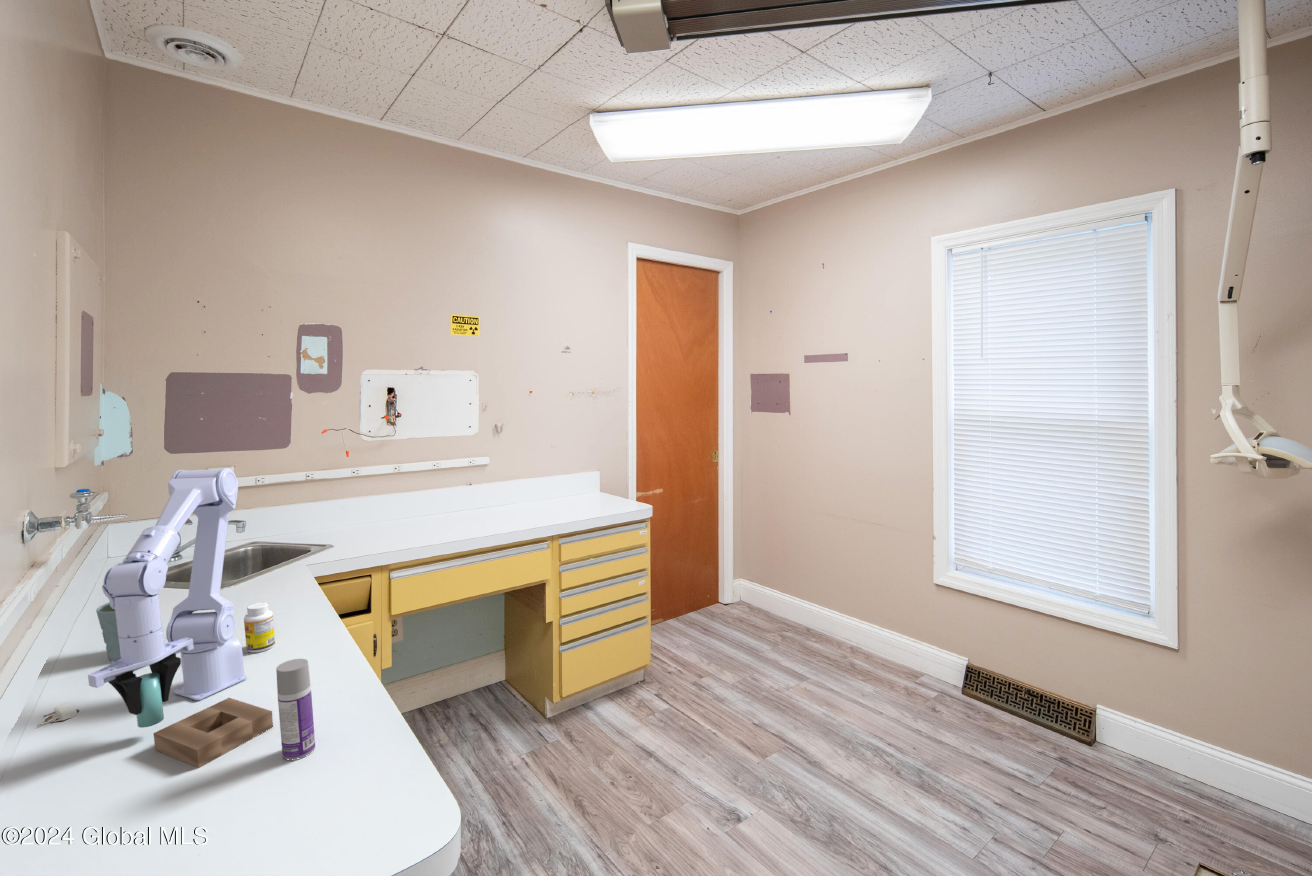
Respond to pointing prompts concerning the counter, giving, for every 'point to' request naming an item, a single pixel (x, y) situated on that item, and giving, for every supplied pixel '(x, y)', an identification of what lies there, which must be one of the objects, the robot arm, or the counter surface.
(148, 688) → the peg
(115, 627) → the green plant pot
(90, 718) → the counter surface
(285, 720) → the container
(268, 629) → the supplement bottle
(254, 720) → the socket block
